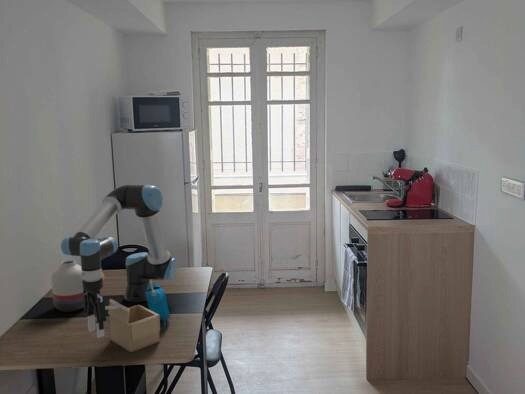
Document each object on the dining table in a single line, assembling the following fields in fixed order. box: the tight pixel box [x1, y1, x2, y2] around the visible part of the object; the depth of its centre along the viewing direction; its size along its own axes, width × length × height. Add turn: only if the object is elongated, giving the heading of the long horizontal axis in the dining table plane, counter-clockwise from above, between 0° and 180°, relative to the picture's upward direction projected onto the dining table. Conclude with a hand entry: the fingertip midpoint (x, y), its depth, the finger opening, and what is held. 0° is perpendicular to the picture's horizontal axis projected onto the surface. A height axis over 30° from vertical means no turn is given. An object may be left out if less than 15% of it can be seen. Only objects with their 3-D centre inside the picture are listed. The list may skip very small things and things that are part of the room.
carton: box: [108, 304, 161, 353], centre depth 218 cm, size 17×15×12 cm
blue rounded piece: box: [146, 280, 171, 327], centre depth 236 cm, size 17×10×20 cm, turn 15°
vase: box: [51, 259, 84, 313], centre depth 254 cm, size 17×17×24 cm
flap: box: [105, 298, 130, 324], centre depth 208 cm, size 16×7×10 cm
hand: (96, 333), depth 206 cm, fingers open, 7 cm apart
